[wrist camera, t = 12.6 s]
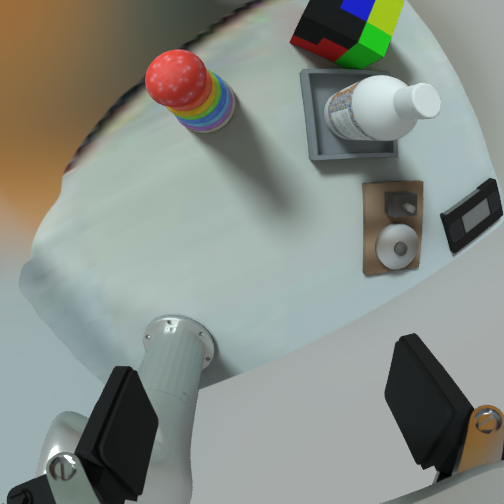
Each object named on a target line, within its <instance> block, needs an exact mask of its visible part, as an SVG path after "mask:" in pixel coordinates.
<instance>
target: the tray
mask: <svg viewBox="0 0 504 504" xmlns="http://www.w3.org/2000/svg"><path fill="white" fill-rule="evenodd" d="M378 75H385V76H390V75H389V72H384V71H372V70H355V69H303V70H302V71H301V72H300V81H301V89H302V96H303V104H304V112H305V121H306V130H307V139H308V149H309V159H311V160H327V159H345V158H370V157H398V150H397V139H396V140H391V141H369V140H347V139H343V138H340V137H338V136H337V135H335V134H334V133H333V132H332V131H331V130H330V129H329V127H328V125H327V123H326V120H325V116H324V109H325V105H326V103H327V101H328V99H329V98H330V97H331V96H332V95H334V94H335V93H337V92H339V91H341V90H343V89H345V88H347V87H349V86H351V85H353V84H355V83H357V82H359V81H361V80H363V79H365V78H368V77H371V76H378Z"/></svg>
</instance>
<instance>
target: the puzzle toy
mask: <svg viewBox="0 0 504 504" xmlns="http://www.w3.org/2000/svg"><path fill="white" fill-rule="evenodd" d="M403 4H404V1H403V0H310V1H309V3H308V5H307V7H306V9H305V11H304V13H303V15H302V17H301V19H300V21H299V23H298V25H297V27H296V29H295V32H294V34H293V36H292V38H291V40H290V43H292V44H294V45H297V46H299V47H302V48H304V49H306V50H309V51H311V52H313V53H315V54H317V55H320V56H322V57H324V58H326V59H328V60H330V61H332V62H334V63H336V64H338V65H340V66H342V67H344V68H346V69H355V70H361V69H363V68H365V67H367V66H369V65H370V64H372V63H374V62H376V61H378V60H380V59H382V58H383V57H384V56H385V53H386V51H387V48H388V46H389V43H390V40H391V37H392V35H393V32H394V29H395V27H396V24H397V21H398V18H399V15H400V13H401V10H402V7H403Z"/></svg>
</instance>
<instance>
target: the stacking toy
mask: <svg viewBox="0 0 504 504" xmlns="http://www.w3.org/2000/svg"><path fill="white" fill-rule="evenodd" d="M145 83H146V88H147V91H148V93H149V95H150V96H151V97H152V98H153V99H154V100H155V101H156V102H157V103H159V104H161V105H164V106H166V107H167V108H168V110H170V111H171V112H172V113H173V114H174V115H175V116H176V118H177V119H178V121H179V122H180V123H181V124H182V125H184V126H185V127H187V128H188V129H190V130H192V131H194V132H199V133H209V132H213V131H216V130H218V129H220V128H222V127H223V126H224V125H226V124H227V123H228V121H229V120H230V119H231V117H232V115H233V113H234V110H235V104H236V102H235V95H234V92H233V90H232V89H231V87H230V86H229V85H228V84H227V83H226V82H225V81H224V80H222V79H221V78H220V77H219V76H217V75H216V74H214V73H212V72H211V71H209V70H207V69H206V68H205V66H204V63H203V62H202V61H201V59H200V58H199V57H198V56H196V55H195V54H193V53H191V52H189V51H186V50H171V51H168V52H165V53H163V54H161V55H160V56H158V57H157V58H156V59H155V60H154V61H153V62H152V63H151V64H150V66H149V68H148V70H147V73H146V78H145Z"/></svg>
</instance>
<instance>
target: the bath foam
mask: <svg viewBox="0 0 504 504" xmlns="http://www.w3.org/2000/svg"><path fill="white" fill-rule="evenodd" d="M440 110H441V100H440V96H439V94H438V92H437V91H436V90H435V89H434V88H433V87H432V86H431V85H429V84H426V83H419V84H416V85H411V86H407V85H406V84H405V83H404V82H402V81H400V80H399V79H396V78H394V77H390V76H385V75H378V76H371V77H368V78H365V79H363V80H361V81H359V82H357V83H355V84H353V85H351V86H349V87H347V88H345V89H343V90H341V91H339V92H337V93H335V94H334V95H332V96H331V97H330V98H329V99H328V101H327V103H326V105H325V109H324V116H325V120H326V123H327V125H328V127H329V129H330V130H331V131H332V132H333V133H334V134H335V135H337V136H338V137H340V138H343V139H347V140H369V141H391V140H396V139H399V138H401V137H403V136H405V135H407V134H408V133H409V132H410V131H411V130H412V129H413V128H414V126H415V125H416V122H417V120H418V119H432V118H434V117H436V116H437V115H438V114H439V112H440Z"/></svg>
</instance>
